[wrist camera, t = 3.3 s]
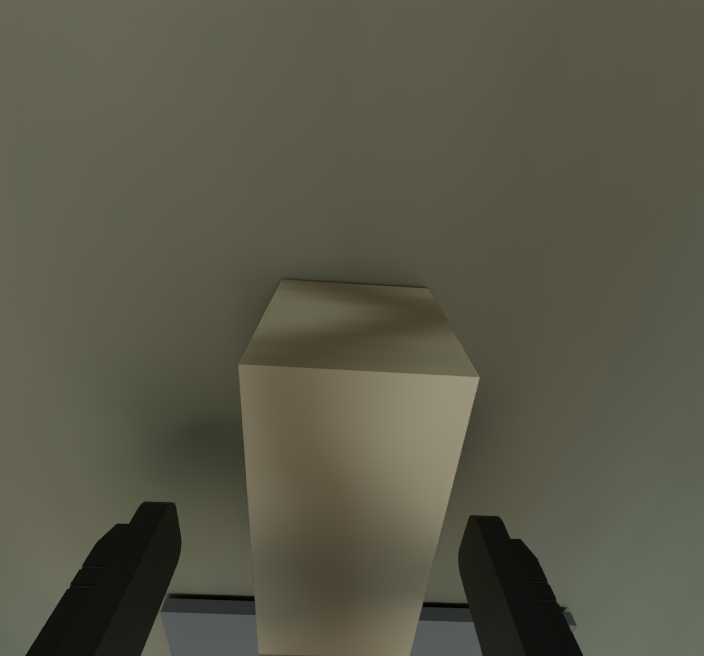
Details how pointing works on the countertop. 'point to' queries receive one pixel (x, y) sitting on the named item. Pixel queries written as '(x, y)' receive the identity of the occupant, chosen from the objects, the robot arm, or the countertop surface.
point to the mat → (242, 643)
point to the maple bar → (349, 462)
